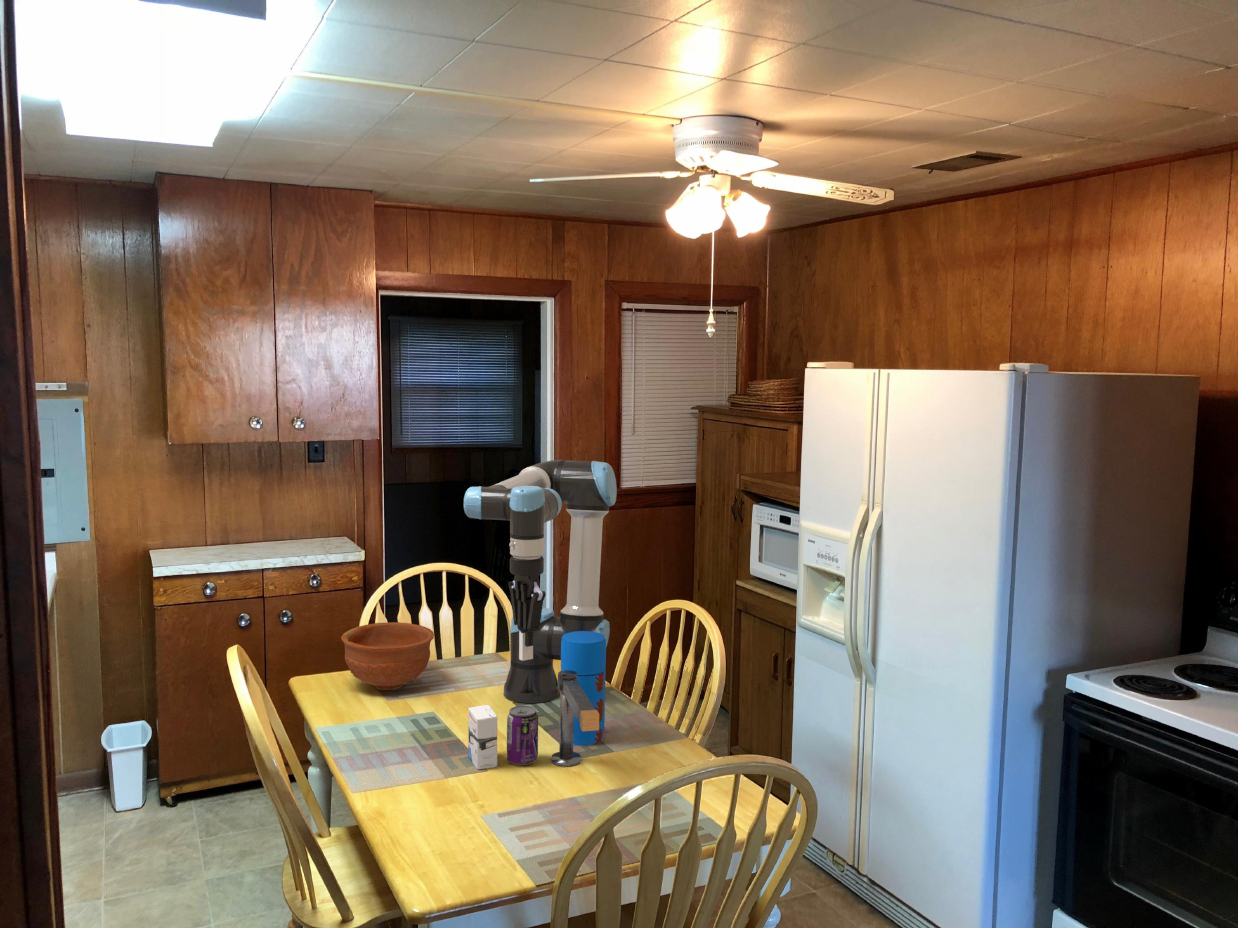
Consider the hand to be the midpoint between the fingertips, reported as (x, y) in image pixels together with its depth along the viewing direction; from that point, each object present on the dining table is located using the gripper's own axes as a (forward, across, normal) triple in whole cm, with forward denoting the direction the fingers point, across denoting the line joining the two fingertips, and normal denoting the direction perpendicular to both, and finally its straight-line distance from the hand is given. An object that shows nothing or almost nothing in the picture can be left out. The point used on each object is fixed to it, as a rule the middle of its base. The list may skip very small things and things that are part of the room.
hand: (526, 658), depth 216 cm
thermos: (+25, -5, +19) cm, 31 cm away
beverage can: (+24, -1, 0) cm, 24 cm away
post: (+24, +4, +8) cm, 26 cm away
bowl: (+25, -65, -7) cm, 70 cm away
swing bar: (+7, +15, +4) cm, 17 cm away
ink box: (+24, -5, -8) cm, 26 cm away
